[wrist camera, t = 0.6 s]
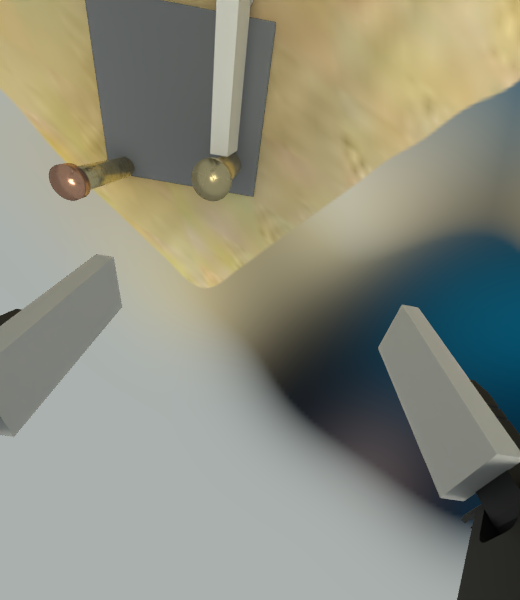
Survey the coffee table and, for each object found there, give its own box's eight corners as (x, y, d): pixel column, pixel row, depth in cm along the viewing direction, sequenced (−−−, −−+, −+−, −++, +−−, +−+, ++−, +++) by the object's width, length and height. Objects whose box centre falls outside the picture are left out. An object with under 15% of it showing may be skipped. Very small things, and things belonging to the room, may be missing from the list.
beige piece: (238, 150, 29) (227, 157, 23) (221, 147, 29) (206, 154, 23) (254, -14, 22) (244, -64, 16) (232, -18, 22) (214, -70, 16)
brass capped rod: (114, 150, 31) (44, 161, 22) (139, 154, 31) (79, 167, 22) (117, 176, 33) (53, 197, 23) (141, 180, 33) (86, 203, 23)
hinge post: (218, 145, 30) (191, 155, 21) (246, 150, 30) (232, 162, 21) (216, 176, 32) (191, 197, 23) (243, 181, 32) (228, 203, 23)
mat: (87, -12, 24) (83, -15, 24) (276, 24, 25) (275, 22, 24) (112, 171, 32) (109, 172, 32) (253, 195, 33) (253, 196, 32)
